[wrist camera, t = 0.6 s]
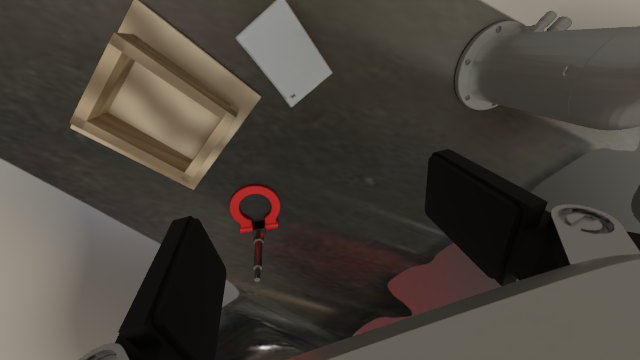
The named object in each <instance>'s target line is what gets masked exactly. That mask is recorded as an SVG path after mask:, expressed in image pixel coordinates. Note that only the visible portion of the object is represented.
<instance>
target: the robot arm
mask: <svg viewBox="0 0 640 360" xmlns="http://www.w3.org/2000/svg"><path fill="white" fill-rule="evenodd" d="M556 16H557V15H556V13H555V12H553V11H549V12H547V13H546V14H545V15H544V16H543V17H542V18H541V19H540V20H539V22H538V23H537V24H536V25H533V26H525V25H523V24H522V23H520V22H517V21H502V22H498V23H495V24H492V25H490V26H488V27H487V28H485V29H483V30H482V31H481V32H480V33H478V34H477V35H476V36H475V37H474V38H473V40H472V41H471V42H470V43H469V44H468V46H467V47H466V49H465V50H464V52H463V54H462V56H461V58H460V60H459V63H458V66H457V69H456V74H455V91H456V94H457V97H458V98H459V100H460V101H461V103H463V104H464V105H465V106H467V107H469V108H471V109H475V110H488V109H491V108H494V107H496V106H498V105H501V106H505V107H509V108H513V109H517V110H521V111H525V112H529V113H533V114H537V115H540V116H544V117H548V118H552V119H556V120H560V121H564V122H568V123H572V124H576V125H580V126H584V127H588V128H593V129H599V130H623V129H629V128H635V127H639V126H640V26H638V27H623V28H622V27H621V28H602V29H585V30H584V29H583V30H567V29H568V28H569V27H570V26H571V24H572V21H571V20H570V19H569V18H567V17H559V18H558V19H557V20H556V21H555V22H554V23H553V24H552V25H551V26H550V27H549V28H548V29H547V31H545V32H544V31H543V29H544V28H545V27H546V26H548V25H549V24H550V23H551V22H552V21H553V20H554V19H555V18H556ZM546 205H547V201H545V200H543V199H541V198H539V197H538V196H536V195H534V194H532V193H530V192H528V191H526V190H524V189H523V188H521V187H519V186H517V185H515V184H513V183H511V182H510V181H508V180H506V179H504V178H502V177H500V176H498V175H496V174H495V173H493V172H491V171H489V170H487V169H485V168H483V167H482V166H480V165H478V164H476V163H474V162H472V161H470V160H469V159H467V158H465V157H463V156H461V155H459V154H457V153H455V152H454V151H452V150H449V149H446V150H442V151H438V152H434V153H433V154H432V157H430V158H429V161H428V174H427V187H426V199H425V212H426V214H427V216H428V217H429V218H430V219H431V220H432V221H433V222H434V223H435V224H436V225H437V226H438V227H439V228H440V229H441V230H442V231H443V232H444V233H445V234H446V235H447V236H448V237H449V238H450V239H451V240H452V241H453V242H454V243H455V244H456V245H457V246H458V247H459V248H460V249H461V250H462V251H463V252H464V253H465V254H466V255H467V256H468V257H469V258H470V259H471V260H472V261H473V262H474V263H475V264H476V265H477V266H478V267H479V268H480V269H481V270H482V271H483V272H484V273H485V274H486V275H487V276H488V277H490V278H494V279H495V280H496V281H497V282H498V283H499V284H500V285H501V286H502V287H499V288H496V289H493V290H490V291H487V292H484V293H481V294H478V295H475V296H472V297H469V298H466V299H463V300H460V301H457V302H454V303H451V304H448V305H445V306H442V307H439V308H436V309H433V310H430V311H427V312H424V313H421V314H418V315H415V316H412V317H409V318H406V319H403V320H400V321H397V322H394V323H391V324H388V325H386V326H382V327H380V328H376V329H374V330H371V331H368V332H365V333H362V334H359V335H356V336H353V337H350V338H347V339H344V340H341V341H338V342H335V343H332V344H330V345H327V346H324V347H321V348H318V349H315V350H312V351H309V352H306V353H303V354H300V355H298V356H295V357H292V358H289V359H286V360H640V234H637V233H632V232H627V231H625V229H624V228H623V227H622V225H621V224H620V223H619V222H618V221H617V220H616V219H615V218H613V217H611V216H609V215H608V214H606V213H604V212H601V211H599V210H596V209H593V208H590V207H586V206H580V205H568V204H567V205H559V206H557V207H554V208H553V209H552V211H551V212H550V213H549V212H548V211H546V210H545V208H546ZM631 209H632V213H633V215H634V217H635V218H636V219H637V220H638V222H639V223H640V185H639V186H638V188H637V190H636V192H635V194H634V196H633V198H632V202H631ZM516 279H519V280H520V281H517V282H516ZM225 281H226V268H225V266H224V264H223V262H222V260H221V258H220V256H219V255H218V253H217V251H216V249H215V247H214V246H213V244H212V242H211V240H210V238H209V236H208V235H207V233H206V231H205V229H204V227H203V226H202V224H201V222H200V220H199V219H197V218H196V219H194V218H193V217H192V216H188V217H185V218H181V219H177V220H174V221H173V222H172V223H171V225H170V228H169V230H168V232H167V234H166V236H165V238H164V240H163V242H162V244H161V246H160V248H159V250H158V252H157V254H156V256H155V258H154V260H153V262H152V264H151V266H150V268H149V270H148V272H147V274H146V277H145V278H144V281H143V283H142V285H141V287H140V289H139V291H138V293H137V295H136V297H135V299H134V301H133V303H132V305H131V307H130V309H129V311H128V313H127V315H126V317H125V319H124V321H123V323H122V325H121V327H120V329H119V331H118V332H119V336H118V338H117V340H116V342H115V343H110V344H105V345H102V346H100V347H98V348H96V349H93V350H92V351H90V352H89V353H87V354H86V355H84V356H83V357H82V358H80V359H79V360H214V359H215V352H216V345H217V338H218V331H219V324H220V317H221V309H222V301H223V295H224V288H225ZM513 282H514V283H513ZM510 283H511V284H510ZM507 284H508V285H507ZM504 285H505V286H504Z"/></svg>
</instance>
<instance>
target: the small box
mask: <svg viewBox="0 0 640 360" xmlns="http://www.w3.org/2000/svg"><path fill="white" fill-rule="evenodd" d="M236 40H237V41H238V42H239V43H240V45H241V46H242V47H243V48H244V49H245V50H246V51H247V53H248V54H249V55H250V56H251V57H252V59H253V60H254V61H255V62H256V63H257V65H258V66H259V67H260V68H261V70H262V71H263V72H264V73H265V75H266V76H267V77H268V78H269V80H270V81H271V82H272V83H273V85H274V86H275V87H276V88H277V90H278V91H279V92H280V93H281V95H282V96H283V97H284V99H285V100H286V101H287V103H288V104H289V106H290V107H293V106H294V105H295V104H296V103H298V102H299V101H300V100H301V99H302V98H303V97H305V96H306V95H307V94H308V93H309V92H311V91H312V90H313V89H314V88H315V87H317V86H318V85H319V84H320V83H321V82H323V81H324V80H325V79H326V78H327V77H328V76H330V75H331V74H332V73H333V72H332V70H331V69H330V67H329V66H328V64H327V63H326V61H325V60H324V58H323V57H322V55H321V53H320V52H319V50H318V49H317V47H316V46H315V44H314V43H313V41H312V40H311V38H310V37H309V35H308V33H307V32H306V30H305V29H304V27H303V26H302V24H301V23H300V21H299V20H298V18H297V17H296V15H295V13H294V12H293V10H292V9H291V7H290V6H289V4H288V3H287V1H286V0H276V1H274V2H273V3H272V4H271V5H270V6H269V7H268V8H267V9H266V10H265V11H263V12H262V13H261V14H260V15H259V16H258V17H257V18H256V19H255V20H254V21H253V22H251V23H250V24H249V25H248V26H247V27H246V28H245V29H244V30H243V31H242V32H241V33H240V34H239V35H237V36H236Z"/></svg>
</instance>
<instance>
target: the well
mask: <svg viewBox="0 0 640 360" xmlns="http://www.w3.org/2000/svg"><path fill="white" fill-rule="evenodd" d="M260 98H261V95H260V94H258V93H257V92H256V91H254V90H253V89H252V88H251V87H249V86H248V85H247V84H246V83H244V82H243V81H242V80H240V79H239V78H238V77H237V76H235V75H234V74H233V73H232V72H230V71H229V70H228V69H226V68H225V67H224V66H223V65H221V64H220V63H219V62H218V61H216V60H215V59H214V58H212V57H211V56H210V55H209V54H207V53H206V52H205V51H204V50H202V49H201V48H200V47H198V46H197V45H196V44H195V43H193V42H192V41H191V40H190V39H188V38H187V37H186V36H184V35H183V34H182V33H181V32H179V31H178V30H177V29H176V28H174V27H173V26H172V25H171V24H169V23H168V22H167V21H165V20H164V19H163V18H162V17H160V16H159V15H158V14H157V13H155V12H154V11H153V10H151V9H150V8H149V7H148V6H146V5H145V4H144V3H143V2H141V1H140V0H134V1H133V3H132V5H131V7H130V9H129V11H128V13H127V15H126V17H125V19H124V21H123V23H122V25H121V27H120V29H119V31H118V33H115V32H114V33H113V35H112V37H111V39H110V41H109V43H108V45H107V47H106V49H105V51H104V53H103V56H102V58H101V60H100V62H99V64H98V66H97V68H96V70H95V72H94V74H93V76H92V78H91V80H90V82H89V84H88V86H87V88H86V90H85V92H84V94H83V96H82V98H81V100H80V102H79V104H78V106H77V108H76V110H75V112H74V114H73V116H72V118H71V120H70V122H69V123H70V124H72V125H71V127H70V128H71V129H73V130H75V131H77V132H79V133H81V134H83V135H85V136H87V137H89V138H91V139H93V140H95V141H97V142H99V143H101V144H103V145H105V146H107V147H109V148H111V149H113V150H115V151H117V152H119V153H121V154H123V155H125V156H127V157H129V158H131V159H133V160H135V161H137V162H139V163H141V164H143V165H145V166H147V167H149V168H151V169H153V170H155V171H157V172H159V173H161V174H163V175H165V176H167V177H169V178H171V179H173V180H175V181H177V182H179V183H181V184H183V185H185V186H187V187H189V188H191V189H193V190H194V189H195V187H196V186H197V184H198V183H199V182H200V180H201V179H202V178H203V176H204V175H205V173H206V172H207V171H208V169H209V168H210V167H211V165H212V164H213V163H214V161H215V160H216V158H217V157H218V156H219V154H220V153H221V152H222V150H223V149H224V147H225V146H226V145H227V143H228V142H229V141H230V139H231V138H232V136H233V135H234V134H235V132H236V131H237V130H238V128H239V127H240V125H241V124H242V123H243V121H244V120H245V119H246V117H247V116H248V115H249V113H250V112H251V110H252V109H253V108H254V106H255V105H256V104H257V102H258V101H259V99H260Z"/></svg>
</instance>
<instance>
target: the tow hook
mask: <svg viewBox="0 0 640 360" xmlns="http://www.w3.org/2000/svg"><path fill="white" fill-rule="evenodd" d="M250 194H261V195H264V196H265V197H267V198H268V199H269V200H270V202H271V205H272V206H271V210H270V212H269V213H268V214H267V215H266V216H265V221H263V222H256V223H253V224H252V219H251V218H248V217H246V216H245V215H244V214H242V212H241V211H240V208H239V204H240V202H241V200H242V199H243V198H244V197H246V196H248V195H250ZM230 212H231V215H232V216H233V218H234V219H235V220H236V221H237V222H238V223H240V232H241V233H246V232H253V237H254V244H255V251H254V268H253V269H254V271H255V277H254V281H255V282H259V281H260V270H261V269H262V244H263V242H264V236H265V235H266V229H273V228H278V221H277V220H276V217H277V216H278V214H279V212H280V200H279V197H278V196H277V194H276V193H275V192H274V191H273V190H272V189H270V188H269V187H267V186H264V185H259V184H252V185H247V186H244V187H242V188H240V189H239V190H237V191H236V192H235V193H234V195H233V196H232V199H231V201H230Z"/></svg>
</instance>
